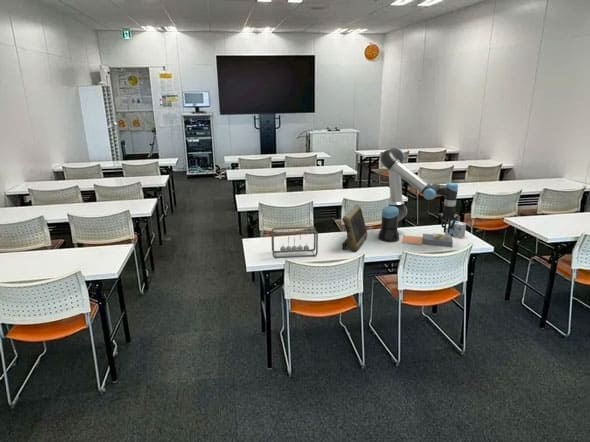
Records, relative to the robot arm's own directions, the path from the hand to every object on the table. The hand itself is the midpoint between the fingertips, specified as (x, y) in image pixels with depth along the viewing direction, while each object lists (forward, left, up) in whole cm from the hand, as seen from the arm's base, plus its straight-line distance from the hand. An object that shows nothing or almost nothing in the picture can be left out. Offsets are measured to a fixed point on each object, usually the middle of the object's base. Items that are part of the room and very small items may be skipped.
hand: (445, 237), depth 284 cm
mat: (-23, 0, -5) cm, 23 cm away
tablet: (-62, -18, -5) cm, 65 cm away
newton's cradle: (-97, -50, -5) cm, 109 cm away
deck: (-6, 0, -5) cm, 8 cm away
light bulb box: (+8, +19, -5) cm, 21 cm away
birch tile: (-5, 0, -1) cm, 5 cm away
